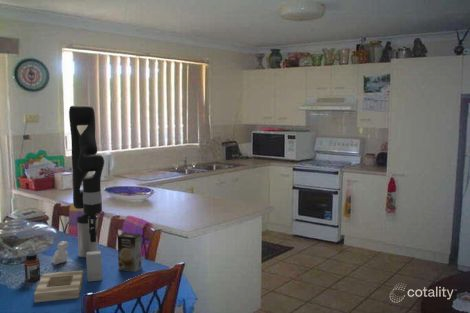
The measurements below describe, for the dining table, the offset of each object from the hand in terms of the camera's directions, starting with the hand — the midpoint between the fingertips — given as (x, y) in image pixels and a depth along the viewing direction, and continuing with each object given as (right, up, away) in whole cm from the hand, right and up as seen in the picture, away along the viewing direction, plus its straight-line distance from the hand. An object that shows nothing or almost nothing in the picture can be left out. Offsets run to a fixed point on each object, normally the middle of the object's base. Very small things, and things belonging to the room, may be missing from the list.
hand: (93, 238), depth 186 cm
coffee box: (+12, -17, +15) cm, 25 cm away
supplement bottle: (-27, -18, +2) cm, 33 cm away
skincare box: (0, -18, +2) cm, 18 cm away
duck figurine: (-23, -16, +23) cm, 36 cm away
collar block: (-11, -19, -8) cm, 24 cm away
